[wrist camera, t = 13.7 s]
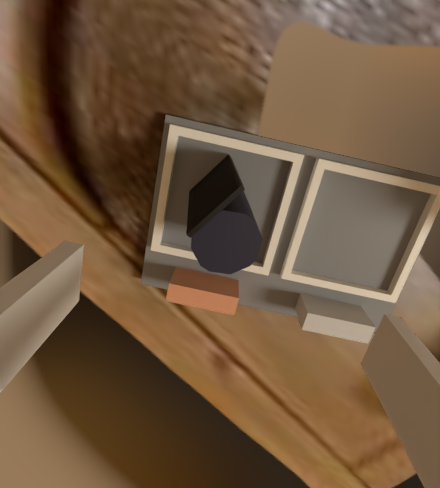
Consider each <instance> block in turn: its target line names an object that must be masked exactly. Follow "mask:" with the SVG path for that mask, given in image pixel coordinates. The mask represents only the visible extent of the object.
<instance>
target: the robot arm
mask: <svg viewBox="0 0 440 488" xmlns="http://www.w3.org/2000/svg"><path fill="white" fill-rule="evenodd" d="M83 249H84V245H82V244H78V243H74V242H69V241H64V242H63V243H62V244H60V245H59V246H57V247H56V248H55V249H53V250H52V251H50V252H49V253H48V254H46V255H45V256H44V257H42V258H41V259H39V260H38V261H37V262H35V263H34V264H33V265H31V266H30V267H28V268H27V269H26V270H24V271H23V272H21V273H20V274H19V275H17V276H16V277H15V278H13V279H12V280H10V281H9V282H8V283H6V284H5V285H3V286H2V287H1V288H0V393H1V391H2V390H3V389H4V388H5V387H6V385H7V384H8V383H9V382H10V381H11V380H12V379H13V377H14V376H15V375H16V374H17V373H18V372H19V370H20V369H21V368H22V367H23V366H24V365H25V363H26V362H27V361H28V360H29V359H30V358H31V356H32V355H33V354H34V352H36V350H37V349H38V348H39V347H40V346H41V345H42V343H43V342H44V341H45V340H46V339H47V338H48V336H49V335H50V334H51V333H52V332H53V331H54V329H55V328H56V327H57V326H58V325H59V324H60V322H61V321H62V320H63V319H64V318H65V317H66V315H67V314H68V313H69V312H70V311H71V309H72V308H73V307H74V306H75V305H76V304H77V302H78V301H79V293H80V282H81V271H82V260H83ZM361 365H362V367H363V369H364V371H365V373H366V375H367V377H368V379H369V381H370V383H371V385H372V387H373V389H374V391H375V392H376V394H377V396H378V398H379V400H380V402H381V404H382V406H383V408H384V410H385V412H386V414H387V416H388V418H389V420H390V422H391V424H392V426H393V428H394V429H395V431H396V433H397V435H398V437H399V439H400V441H401V443H402V445H403V447H404V449H405V451H406V453H407V455H408V457H409V459H410V461H411V463H412V465H413V466H414V468H415V470H416V472H417V474H418V476H419V478H420V480H421V482H422V484H423V486H424V488H440V363H439V362H438V361H437V359H436V358H435V357H434V356H433V355H432V353H431V352H430V351H429V350H428V349H427V347H426V346H425V345H424V344H423V343H422V341H421V340H420V339H419V338H418V337H417V335H416V334H415V333H414V332H413V331H412V329H411V328H410V327H409V326H408V325H407V324H406V322H405V321H404V320H403V319H402V318H401V317H397V316H392V315H388V314H384V316H383V318H382V320H381V322H380V324H379V327H378V329H377V331H376V333H375V335H374V337H373V339H372V341H371V343H370V345H369V347H368V349H367V351H366V353H365V355H364V358H363V360H362V362H361Z"/></svg>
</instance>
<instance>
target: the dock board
mask: <svg viewBox="0 0 440 488" xmlns="http://www.w3.org/2000/svg"><path fill="white" fill-rule="evenodd" d="M228 154H229V155H230V156H231V158H232V160H233V162H234V165H235V167H236V169H237V172H238V174H239V176H240V179H241V181H242V183H243V186H244V188H245V190H244V193H245V195H246V198H247V200H248V202H249V205H250V207H251V210H252V212H253V215H254V218H255V220H256V223H257V225H258V228H259V231H260V233H261V236H262V238H263V240H262V244H261V247H260V251H259V254H258V257H257V259H256V260H255V261H254V262H253V263H252V265H251V266H249V267H247V268H244V269H242V270H240V271H237V272H235V273H233V274H223V273H216V272H209V271H208V270H206V269H205V268H203V267H201V266H200V264H199V262H198V260H197V259H196V257H195V255H194V253H193V252H192V250H191V238H189V237H188V236H187V235H186V231H187V217H188V203H189V191H190V190H191V189H192V188H193V187H194V186H195V185H196V184H197V183H198V182H199V181H200V180H201V179H203V178H204V177H205V176H206V175H207V174H208V173H209V172H210V171H211V170H212V169H213V168H214V167H215V166H216V165H218V164H219V163H220V162H221V161H222V160H223V159H224V158H225V157H226V156H227V155H228ZM439 210H440V178H439V177H434V176H430V175H426V174H421V173H417V172H413V171H408V170H404V169H400V168H395V167H391V166H387V165H383V164H378V163H373V162H370V161H365V160H361V159H356V158H352V157H348V156H344V155H339V154H335V153H331V152H326V151H322V150H318V149H313V148H309V147H305V146H300V145H296V144H292V143H288V142H283V141H279V140H274V139H270V138H266V137H262V136H257V135H253V134H249V133H244V132H240V131H236V130H232V129H227V128H223V127H219V126H214V125H210V124H206V123H201V122H197V121H193V120H188V119H184V118H180V117H175V116H171V115H166V116H165V123H164V130H163V136H162V143H161V150H160V157H159V163H158V170H157V177H156V184H155V190H154V197H153V204H152V211H151V217H150V224H149V231H148V238H147V244H146V251H145V258H144V265H143V271H142V278H141V284H144V285H149V286H153V287H158V288H163V289H168V292H167V298H166V301H169V302H173V303H178V304H183V305H188V306H192V307H197V308H202V309H207V310H211V311H216V312H221V313H226V314H230V315H235V311H236V308H237V304H238V305H243V306H248V307H252V308H257V309H262V310H266V311H271V312H276V313H281V314H285V315H290V316H295V317H298V319H299V322H300V325H301V329H302V330H306V331H311V332H316V333H321V334H325V335H330V336H335V337H339V338H344V339H349V340H354V341H358V342H363V343H369V341H370V339H371V336H372V334H373V333H376V331H377V329H378V327H379V324H380V322H381V320H382V318H383V316H384V314H388V315H391V313H392V311H393V308H394V306H395V304H396V302H397V300H398V298H399V296H400V293H401V291H402V289H403V287H404V285H405V283H406V281H407V279H408V276H409V274H410V272H411V270H412V268H413V266H414V264H415V261H416V259H417V257H418V255H419V253H420V251H421V249H422V246H423V244H424V242H425V240H426V238H427V236H428V234H429V231H430V229H431V227H432V225H433V223H434V221H435V219H436V216H437V214H438V212H439Z"/></svg>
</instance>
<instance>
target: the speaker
mask: <svg viewBox="0 0 440 488" xmlns="http://www.w3.org/2000/svg"><path fill="white" fill-rule="evenodd" d="M244 190H245V188H244V186H243V183H242V181H241V179H240V176H239V174H238V172H237V169H236V167H235V165H234V162H233V160H232V158H231V156H230V155H229V154H228V155H227V156H226V157H225V158H224V159H223V160H222V161H221V162H220V163H219V164H218V165H216V166H215V167H214V168H213V169H212V170H211V171H210V172H209V173H208V174H207V175H206V176H205V177H204V178H203V179H201V180H200V181H199V182H198V183H197V184H196V185H195V186H194V187H193V188H192V189H191V190H190V191H189V203H188V217H187V231H186V235H187V236H188V237H189V238H191V250H192V252H193V253H194V255H195V257H196V259H197V260H198V262H199V264H200V266H201V267H203V268H205V269H206V270H208V271H209V272H216V273H223V274H233V273H235V272H237V271H240V270H242V269H244V268H247V267H249V266H251V265H252V263H253V262H254V261H255V260H256V259H257V257H258V254H259V251H260V247H261V244H262V240H263V238H262V236H261V233H260V231H259V228H258V225H257V223H256V220H255V218H254V215H253V212H252V210H251V207H250V205H249V202H248V200H247V198H246V195H245V193H244Z"/></svg>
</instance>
